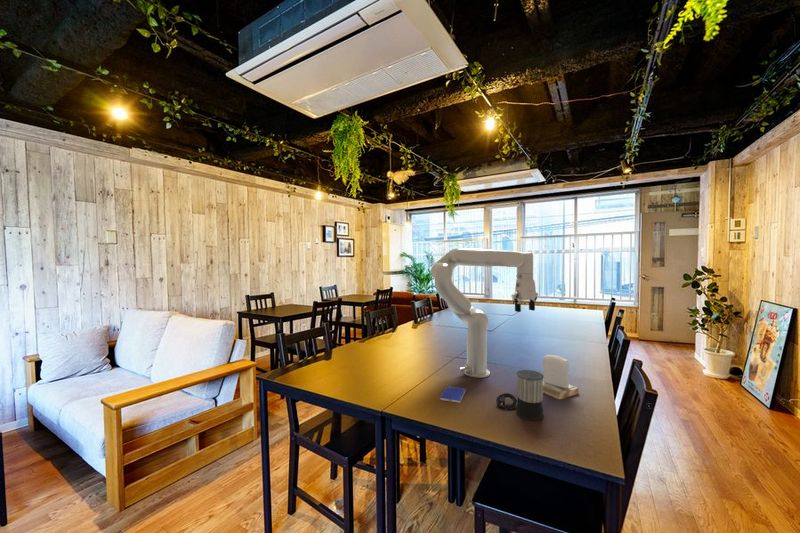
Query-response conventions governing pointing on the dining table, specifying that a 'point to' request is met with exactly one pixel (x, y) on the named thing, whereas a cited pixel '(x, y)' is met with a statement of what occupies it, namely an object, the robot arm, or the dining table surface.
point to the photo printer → (556, 371)
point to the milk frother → (526, 395)
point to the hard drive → (453, 394)
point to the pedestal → (559, 391)
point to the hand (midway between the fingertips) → (524, 310)
